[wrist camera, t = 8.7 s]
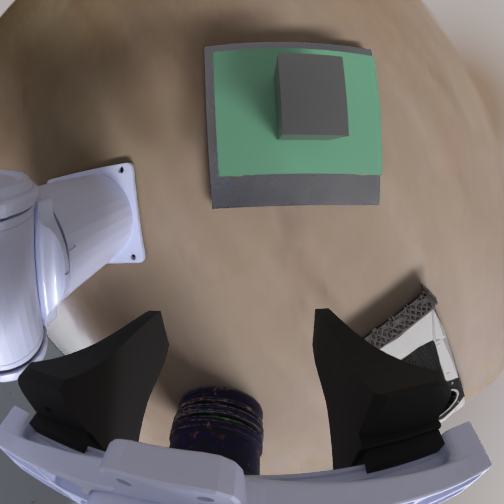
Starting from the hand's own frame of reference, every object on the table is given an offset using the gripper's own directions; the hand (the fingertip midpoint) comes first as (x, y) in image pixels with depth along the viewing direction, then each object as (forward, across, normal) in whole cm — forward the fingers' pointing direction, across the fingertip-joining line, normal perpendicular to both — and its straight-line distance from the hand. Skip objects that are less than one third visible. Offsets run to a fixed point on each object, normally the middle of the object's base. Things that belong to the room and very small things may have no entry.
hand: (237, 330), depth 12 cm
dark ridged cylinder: (+10, +4, +19) cm, 22 cm away
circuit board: (+7, -4, -10) cm, 13 cm away
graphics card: (+10, -19, +16) cm, 27 cm away
